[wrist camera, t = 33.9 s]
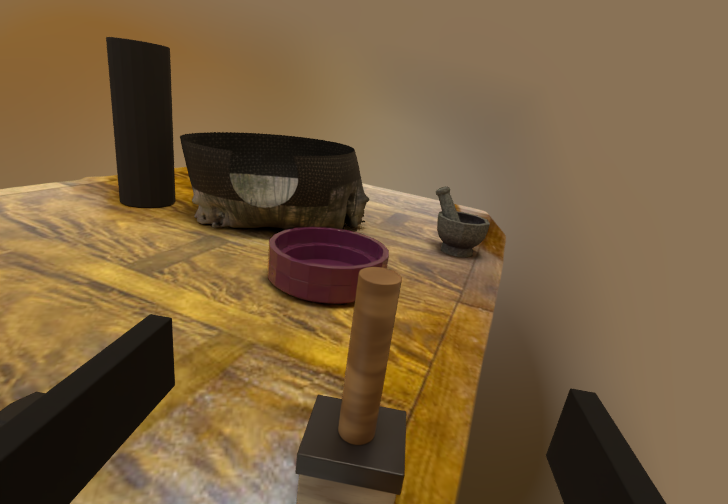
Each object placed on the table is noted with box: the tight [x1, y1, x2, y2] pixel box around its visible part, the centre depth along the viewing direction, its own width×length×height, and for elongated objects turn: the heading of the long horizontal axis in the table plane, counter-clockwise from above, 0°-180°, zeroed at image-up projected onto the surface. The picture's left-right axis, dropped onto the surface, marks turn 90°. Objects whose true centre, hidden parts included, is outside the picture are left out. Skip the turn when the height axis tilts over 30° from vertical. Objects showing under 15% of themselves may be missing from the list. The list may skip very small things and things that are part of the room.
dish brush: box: [296, 267, 406, 504], centre depth 25 cm, size 6×5×16 cm
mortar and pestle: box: [436, 187, 489, 257], centre depth 77 cm, size 11×9×12 cm
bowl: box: [268, 227, 389, 304], centre depth 57 cm, size 17×17×6 cm
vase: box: [106, 37, 175, 208], centre depth 79 cm, size 10×10×30 cm
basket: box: [180, 132, 369, 230], centre depth 80 cm, size 28×35×16 cm
